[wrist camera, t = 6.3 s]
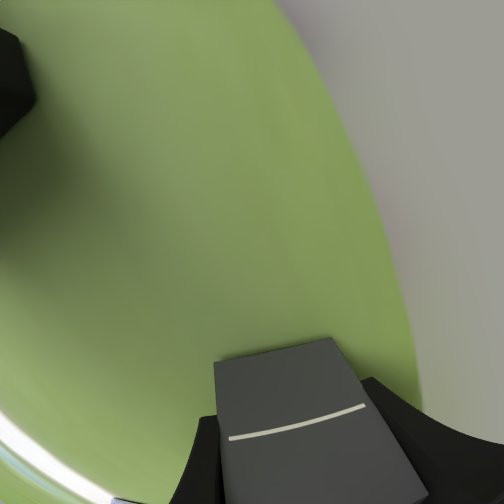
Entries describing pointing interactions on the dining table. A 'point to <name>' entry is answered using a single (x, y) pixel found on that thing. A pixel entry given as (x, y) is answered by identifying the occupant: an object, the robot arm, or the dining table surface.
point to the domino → (306, 433)
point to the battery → (13, 82)
